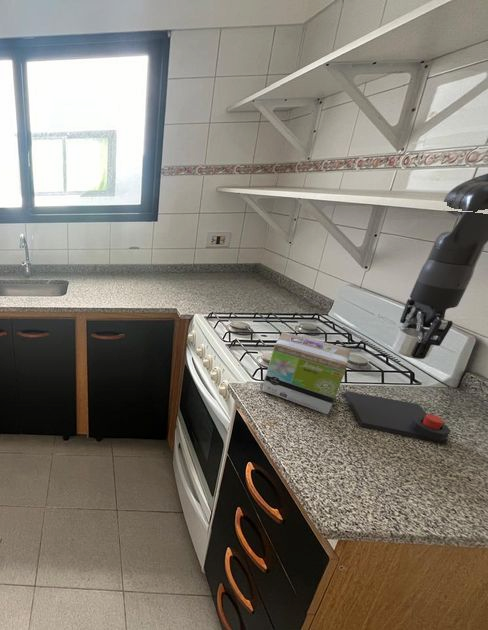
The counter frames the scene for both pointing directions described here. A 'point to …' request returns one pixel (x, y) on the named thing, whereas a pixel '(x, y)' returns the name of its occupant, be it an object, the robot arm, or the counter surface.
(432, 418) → the button
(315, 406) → the tea box
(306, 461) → the counter surface
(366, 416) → the scale
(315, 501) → the counter surface
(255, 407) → the counter surface
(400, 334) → the white cup
